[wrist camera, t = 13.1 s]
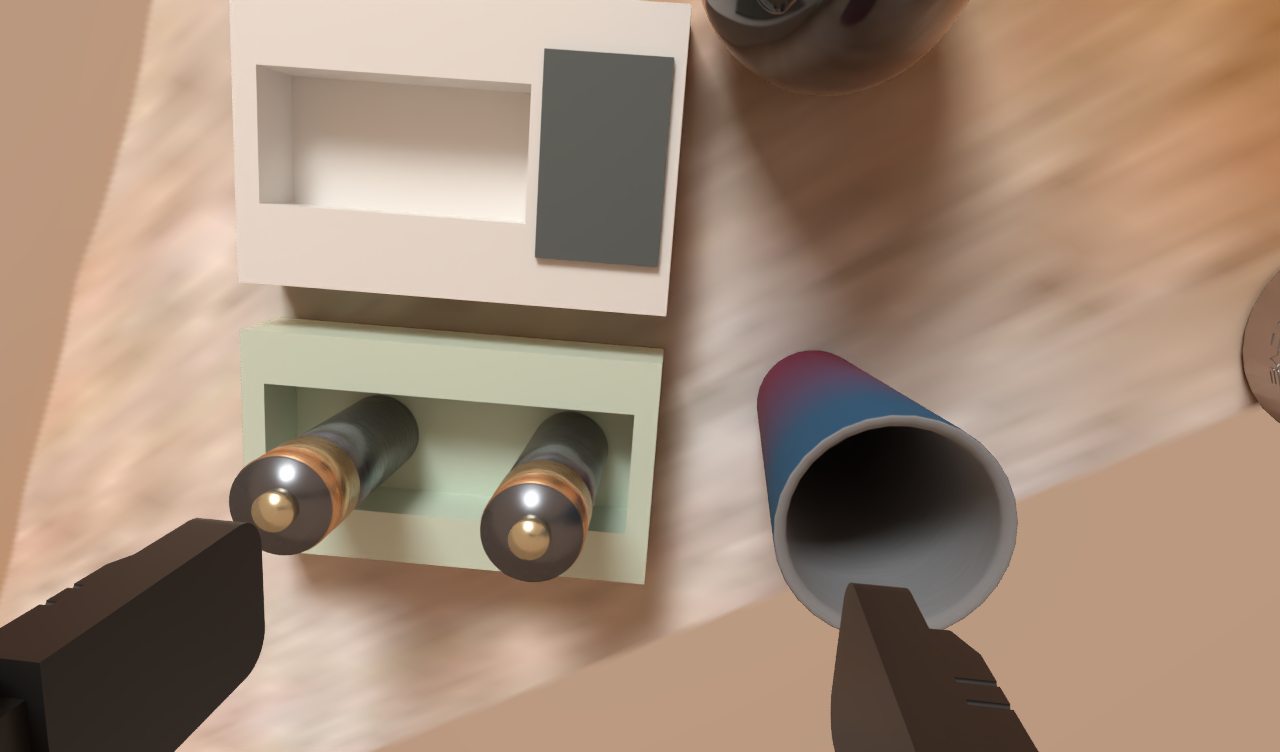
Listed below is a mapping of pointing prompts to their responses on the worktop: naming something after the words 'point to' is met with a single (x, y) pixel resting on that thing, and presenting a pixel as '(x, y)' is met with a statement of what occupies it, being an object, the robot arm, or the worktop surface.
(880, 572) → the cup
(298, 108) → the battery tester
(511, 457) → the trough rack
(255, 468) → the cell
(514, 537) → the cell
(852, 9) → the black tapered dome
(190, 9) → the worktop surface
